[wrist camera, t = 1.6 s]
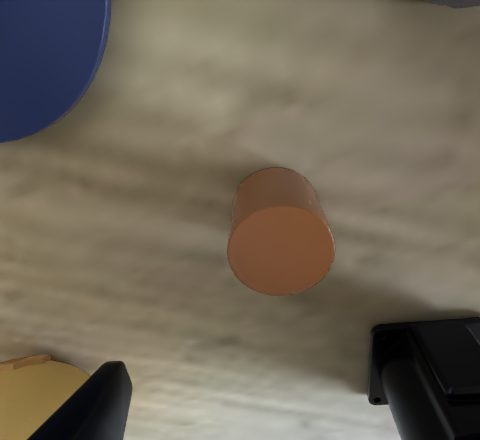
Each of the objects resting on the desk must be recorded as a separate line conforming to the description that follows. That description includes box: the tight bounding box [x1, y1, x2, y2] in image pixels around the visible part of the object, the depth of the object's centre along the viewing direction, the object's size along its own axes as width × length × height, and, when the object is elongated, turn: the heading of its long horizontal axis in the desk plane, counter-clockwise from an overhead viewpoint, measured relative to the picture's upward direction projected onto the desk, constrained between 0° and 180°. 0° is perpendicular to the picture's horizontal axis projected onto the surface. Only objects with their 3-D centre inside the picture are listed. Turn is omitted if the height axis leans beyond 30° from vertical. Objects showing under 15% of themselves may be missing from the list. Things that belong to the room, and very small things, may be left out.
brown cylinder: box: [227, 168, 335, 296], centre depth 15 cm, size 4×4×4 cm
